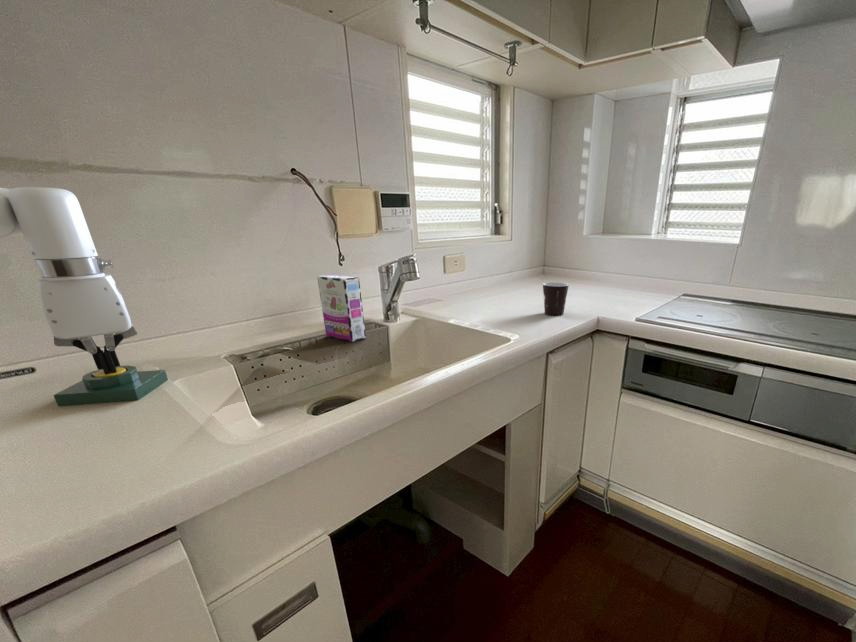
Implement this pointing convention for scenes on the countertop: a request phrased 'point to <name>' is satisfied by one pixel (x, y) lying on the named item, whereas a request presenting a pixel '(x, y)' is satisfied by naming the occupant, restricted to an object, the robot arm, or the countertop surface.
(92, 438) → the countertop surface
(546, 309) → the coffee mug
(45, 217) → the robot arm
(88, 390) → the control box
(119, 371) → the button
